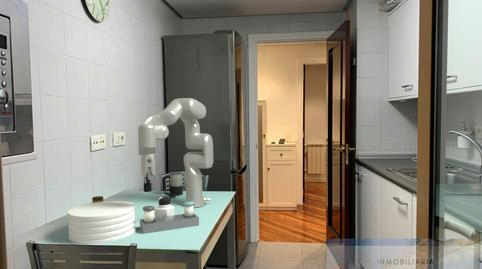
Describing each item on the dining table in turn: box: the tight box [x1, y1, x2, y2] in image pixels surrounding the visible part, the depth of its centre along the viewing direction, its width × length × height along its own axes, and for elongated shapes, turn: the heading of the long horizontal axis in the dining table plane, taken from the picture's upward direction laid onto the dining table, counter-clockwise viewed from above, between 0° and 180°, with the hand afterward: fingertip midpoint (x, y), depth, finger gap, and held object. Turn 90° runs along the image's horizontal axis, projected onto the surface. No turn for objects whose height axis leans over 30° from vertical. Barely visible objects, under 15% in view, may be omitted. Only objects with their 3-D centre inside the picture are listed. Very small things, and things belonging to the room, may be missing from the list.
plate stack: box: [67, 200, 137, 245], centre depth 156 cm, size 28×28×12 cm
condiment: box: [91, 195, 104, 203], centre depth 177 cm, size 7×8×12 cm
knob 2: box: [182, 200, 195, 218], centre depth 168 cm, size 5×5×7 cm
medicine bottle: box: [154, 196, 175, 218], centre depth 173 cm, size 7×7×12 cm
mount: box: [139, 213, 200, 235], centre depth 164 cm, size 26×9×4 cm, turn 115°
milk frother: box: [162, 171, 184, 199], centre depth 232 cm, size 14×16×15 cm
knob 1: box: [142, 205, 156, 223], centre depth 159 cm, size 5×5×7 cm
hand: (147, 191), depth 159 cm, fingers closed
